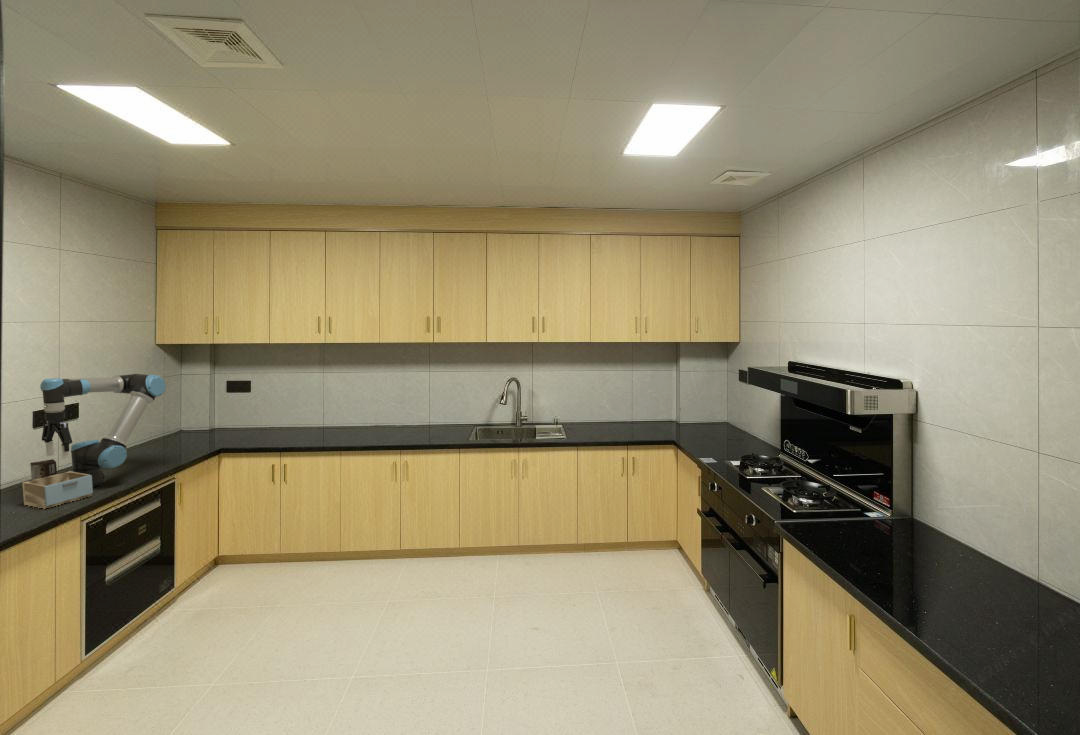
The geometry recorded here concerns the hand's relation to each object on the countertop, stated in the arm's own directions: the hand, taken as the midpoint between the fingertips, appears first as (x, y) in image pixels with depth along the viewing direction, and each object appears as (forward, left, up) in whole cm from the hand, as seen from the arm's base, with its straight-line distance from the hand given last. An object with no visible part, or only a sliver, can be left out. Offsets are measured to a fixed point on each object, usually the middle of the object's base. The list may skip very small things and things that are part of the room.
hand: (58, 456), depth 272 cm
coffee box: (-4, -19, -22) cm, 30 cm away
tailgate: (0, +6, -20) cm, 21 cm away
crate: (0, -1, -22) cm, 22 cm away
